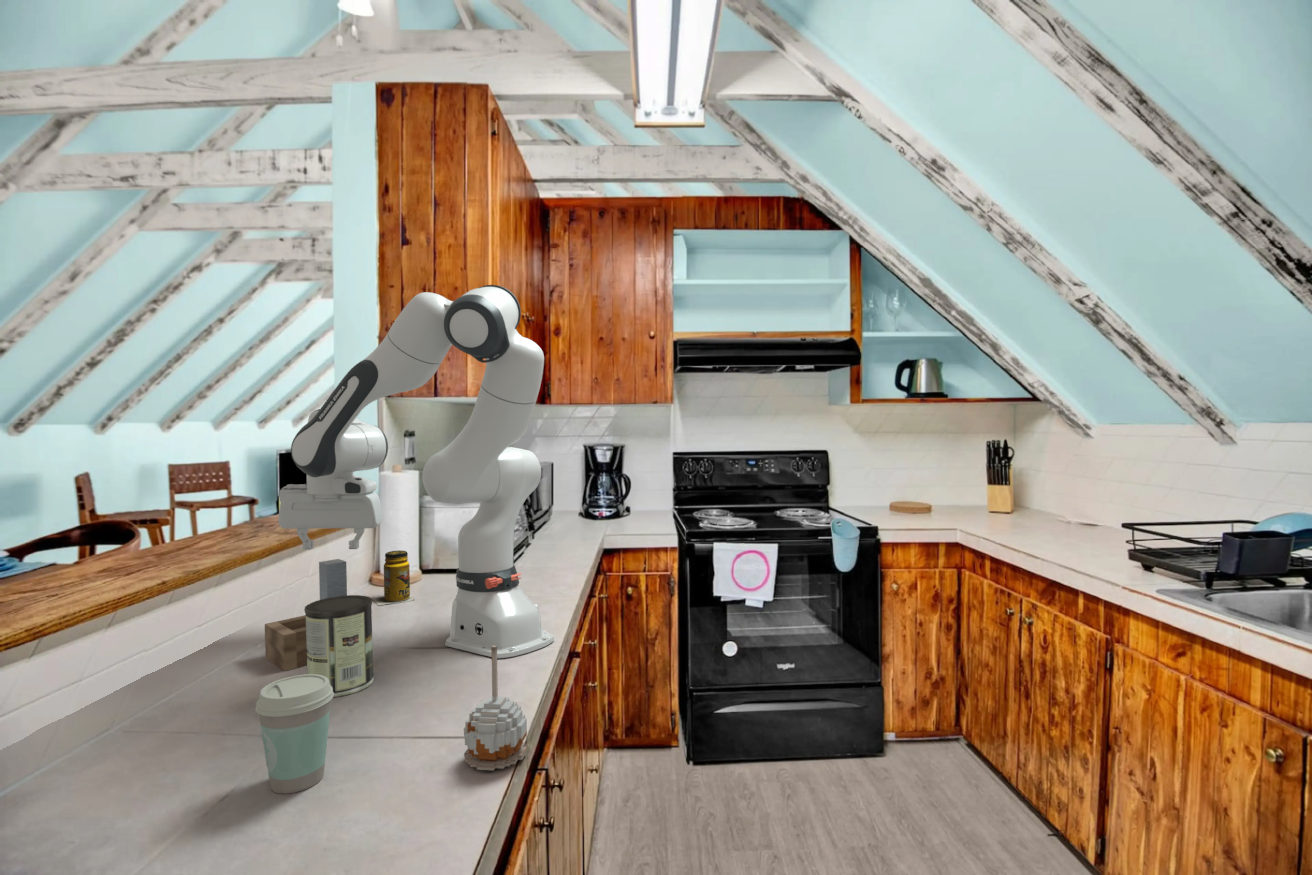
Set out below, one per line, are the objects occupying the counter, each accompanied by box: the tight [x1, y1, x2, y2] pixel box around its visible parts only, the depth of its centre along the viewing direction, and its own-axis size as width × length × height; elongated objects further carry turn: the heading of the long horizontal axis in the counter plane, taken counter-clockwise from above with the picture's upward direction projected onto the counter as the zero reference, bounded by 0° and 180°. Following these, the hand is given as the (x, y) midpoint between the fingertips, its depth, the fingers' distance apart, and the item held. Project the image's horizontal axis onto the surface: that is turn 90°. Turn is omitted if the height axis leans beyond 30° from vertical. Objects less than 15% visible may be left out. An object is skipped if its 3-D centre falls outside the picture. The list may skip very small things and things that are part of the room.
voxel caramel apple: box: [463, 646, 528, 771], centre depth 86 cm, size 8×8×15 cm
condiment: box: [372, 550, 415, 606], centre depth 162 cm, size 7×8×12 cm
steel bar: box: [318, 558, 348, 600], centre depth 138 cm, size 4×4×15 cm
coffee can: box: [304, 594, 375, 698], centre depth 110 cm, size 10×10×14 cm
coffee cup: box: [254, 673, 334, 795], centre depth 81 cm, size 9×9×12 cm
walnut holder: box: [264, 614, 307, 672], centre depth 123 cm, size 10×10×6 cm
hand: (331, 548), depth 138 cm, fingers open, 8 cm apart
